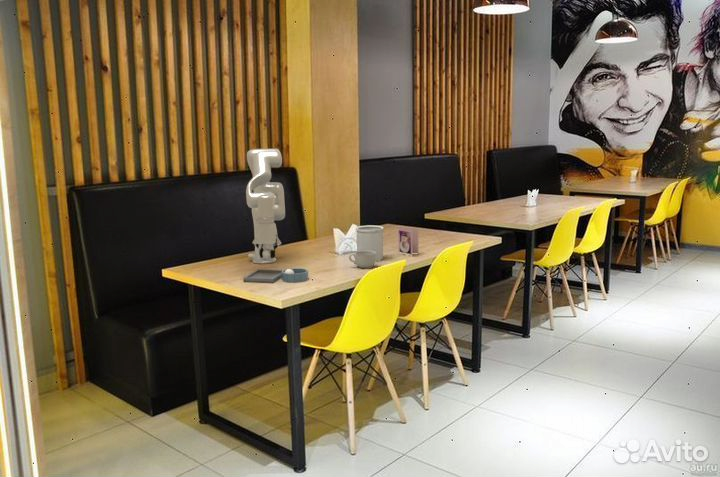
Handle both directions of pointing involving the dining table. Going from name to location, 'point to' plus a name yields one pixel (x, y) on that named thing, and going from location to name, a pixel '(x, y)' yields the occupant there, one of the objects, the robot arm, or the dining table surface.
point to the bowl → (295, 275)
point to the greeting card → (408, 240)
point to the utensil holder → (370, 239)
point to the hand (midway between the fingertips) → (267, 257)
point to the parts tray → (263, 276)
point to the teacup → (364, 258)
